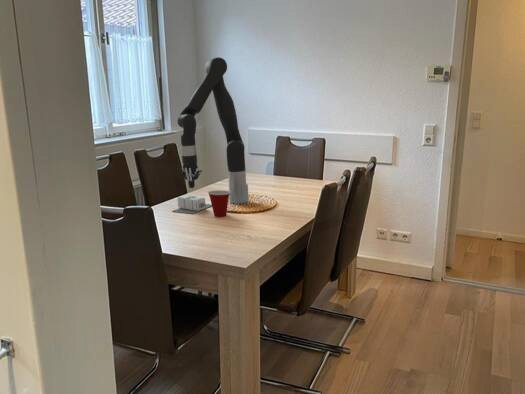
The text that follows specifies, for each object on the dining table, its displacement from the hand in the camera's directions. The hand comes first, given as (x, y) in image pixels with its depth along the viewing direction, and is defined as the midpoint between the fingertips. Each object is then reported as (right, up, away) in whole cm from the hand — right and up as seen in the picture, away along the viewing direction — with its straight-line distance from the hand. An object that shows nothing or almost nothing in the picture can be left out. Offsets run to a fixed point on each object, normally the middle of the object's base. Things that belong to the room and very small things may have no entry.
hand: (191, 187), depth 246 cm
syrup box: (-6, -7, +5) cm, 11 cm away
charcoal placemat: (0, -11, +3) cm, 11 cm away
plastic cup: (+16, -14, -13) cm, 25 cm away
